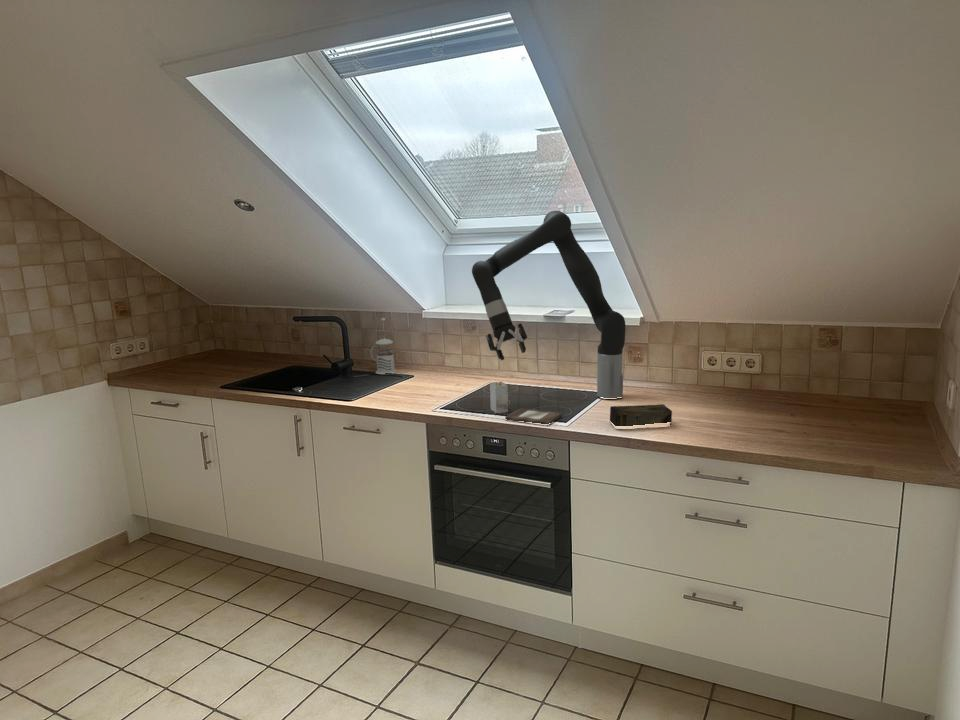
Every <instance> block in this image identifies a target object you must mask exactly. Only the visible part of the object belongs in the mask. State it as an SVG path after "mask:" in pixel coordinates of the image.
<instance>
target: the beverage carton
mask: <svg viewBox="0 0 960 720" xmlns="http://www.w3.org/2000/svg"><path fill="white" fill-rule="evenodd" d="M672 417H673V411H672V410H671V409H670V408H669V407H668V406H666V404H663V403H662V404H645V405H644V404H643V405H642V404H641V405H640V404H639V405H615V406H610V410H609V422H610V421H611V422H612V423H613V424H614V425H615V426H633V425H645V424H654V423H667V422H672V421H673V418H672Z"/></svg>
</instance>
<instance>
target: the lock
mask: <svg viewBox="0 0 960 720" xmlns="http://www.w3.org/2000/svg"><path fill="white" fill-rule="evenodd" d="M489 384H490V385H489V397H490V398H489V400H490V411H492V412H493V411H494V412H493V413H495V414H496V413H498V414H505V413H506V412H507V413H508V412H509V401H508V400H509V397H508V396H509V395H508V384H506V383H504V382H503V381H493V382H489ZM507 413H506V414H507Z"/></svg>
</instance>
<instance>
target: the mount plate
mask: <svg viewBox="0 0 960 720" xmlns="http://www.w3.org/2000/svg"><path fill="white" fill-rule="evenodd" d="M562 415H563V414H562V413H561V412H555V411H554V412H553V411H546V410H541V409H540V410H539V409H533V408H532V409H531V408H530V409H529V408H522V407H520V408H518V409H516V410H514V411H512V412H511V413H510V414H508V415H506V416H505V418H504V419H507V420H513V421H512V422H514V421H524V422H532V423H541V424H549V423H552V422H553V421H555V420H556V421H558V420H559V419H560V418H562V417H561V416H562ZM558 418H559V419H558ZM557 419H558V420H557ZM507 420H506V421H507ZM556 421H555V422H556ZM553 423H554V422H553ZM553 423H552V424H553Z"/></svg>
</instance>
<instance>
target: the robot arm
mask: <svg viewBox="0 0 960 720" xmlns="http://www.w3.org/2000/svg"><path fill="white" fill-rule="evenodd" d="M543 218H544V219H543V222H542V224H540V225H539V226H538V227H537V228H536V229H534V230H532V231H531V232H529V233H526V234H525V235H524V236H521V237H519V238H517V239H514V240H513V241H511V242H509V243H507V244H506V245H504V246H503V247H501V248H499V249H498V250H497V251H496V252H494V253H493V254H492V256H491V257H488V259H486V260H485V261H484V260H479V261H476V262H475V263H474V264H473V265H472V268H471V274H472V277H473V279H474V282H475V284H476V286H477V289H478V290H479V293H480V296H481V299H482V302H483V305H484V308H485V312H486V316H487V318H488V321H489V324H490V325H491V329H492V332H493V333H488V334H486V336H485V337H486V340H487V344H488V347H489V351H491V352H495V353H496V356H497V358H498V359H499V360H500V361H504V360H505V357H504V354H503V351H502V349H501V348H502V347H501V346H502V345H503V343H505V342H507V341H511V340H514V341H516V342H518V347H519V349H520V351H521V354H524V353H526V351H527V348H526V345H525V341H526V340H527V338H528V335H527V333H526V331H525V329H524V326H523V324H522V323H520V322H519V323H518V324H516V325H514V324H513V321H512V318H511V316H510V315H511V314H510V313H509V310H508V306H507V305H506V302H505V301H504V298H503V296H502V293H501V290H500V288H499V287H498V285H497V283H496V281H495V277H497V275H499V274H500V273H501V272H502V271H504V270H505V269H507V268H509V267H511V266H512V265H514V264H516V263H517V262H518V261H520V260H521V259H523V258H525V257H526V256H528V255H529V254H530V253H532V252H534V251H536V250H537V249H539V248H541V247H543V246H545V245H547V244H549V243H551V242H553V244H554V245H555V247H556V249H557V250H558V252H559V254H560V257H561V260H562V262H563V263H564V266H565V268H566V270H567V273H568V274H569V277H570V279H571V281H572V282H573V285H574V286H575V288H576V289H577V291H578V293H579V295H580V296H581V298H582V299H583V301H584V303H585V304H586V306H587V308H588V309H589V313H590V315H591V318H592V320H593V323H594V325H595V327H596V329H597V330H598V331H599V332H600V333H601V334H600V335H601V337H600V338H601V339H600V344H598V346H597V365H596V366H597V370H596V371H597V374H596V375H597V377H596V378H597V379H596V388H597V389H596V397H597V396H599V397H604V398H617V397H624V373H623V351H624V347H625V341H626V319H625V317H624V315H623V314H621V313H620V312H618V311H614V310H613V308H612V307H611V306H610V304H609V303H608V300H607V299H606V297H605V296H604V293H603V288H602V284H601V280H600V279H601V278H600V275H599V274H598V271H597V270H596V268H595V266H594V264H593V262H592V261H591V259H590V257H589V256H588V255H587V253H586V252H585V250H584V249H583V248H582V247H581V245H580V244H579V242H578V241H577V239H576V237H575V235H574V233H573V231H572V220H571V219H570V217H569V216H568V214H566V213H564V212H563V211H562V210H561V211H560V210H551V211H549V212H548V213H546V215H545V216H544V217H543ZM516 331H518V332H519V334H518V333H516ZM519 335H520V336H519ZM494 338H496V343H494Z"/></svg>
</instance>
